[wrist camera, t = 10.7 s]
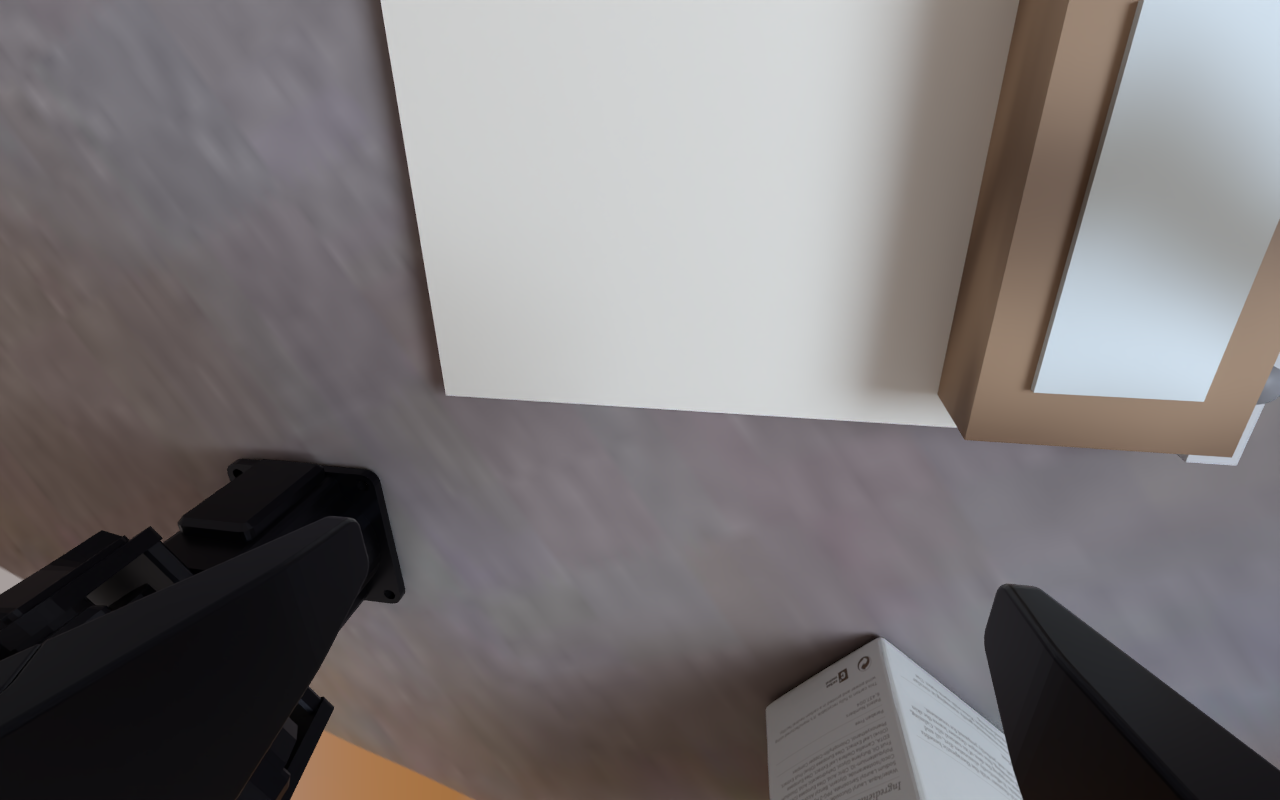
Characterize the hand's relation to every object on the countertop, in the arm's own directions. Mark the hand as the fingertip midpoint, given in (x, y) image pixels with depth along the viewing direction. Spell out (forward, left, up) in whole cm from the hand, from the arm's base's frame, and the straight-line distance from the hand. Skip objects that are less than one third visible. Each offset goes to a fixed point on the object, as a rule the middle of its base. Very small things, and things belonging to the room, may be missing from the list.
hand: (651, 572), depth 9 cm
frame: (+3, -10, -11) cm, 15 cm away
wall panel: (+3, -3, -12) cm, 13 cm away
